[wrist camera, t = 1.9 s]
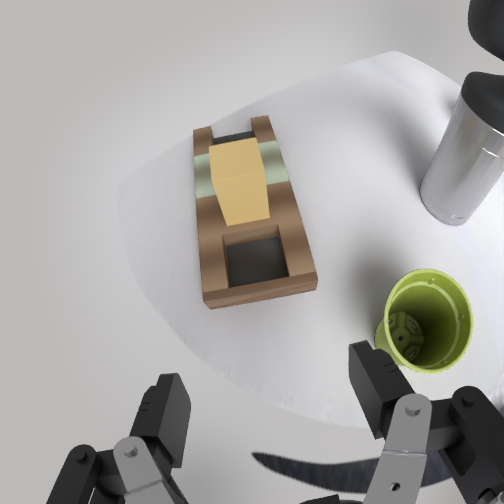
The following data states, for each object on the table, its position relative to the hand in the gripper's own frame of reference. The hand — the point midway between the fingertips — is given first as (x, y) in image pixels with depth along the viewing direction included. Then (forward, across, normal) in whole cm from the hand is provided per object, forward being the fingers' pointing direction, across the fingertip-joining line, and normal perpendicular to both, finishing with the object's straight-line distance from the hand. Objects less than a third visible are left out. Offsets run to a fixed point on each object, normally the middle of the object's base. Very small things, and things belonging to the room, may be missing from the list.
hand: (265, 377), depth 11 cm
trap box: (+30, 0, -4) cm, 30 cm away
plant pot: (+14, -14, +12) cm, 24 cm away
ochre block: (+25, 0, -4) cm, 26 cm away
